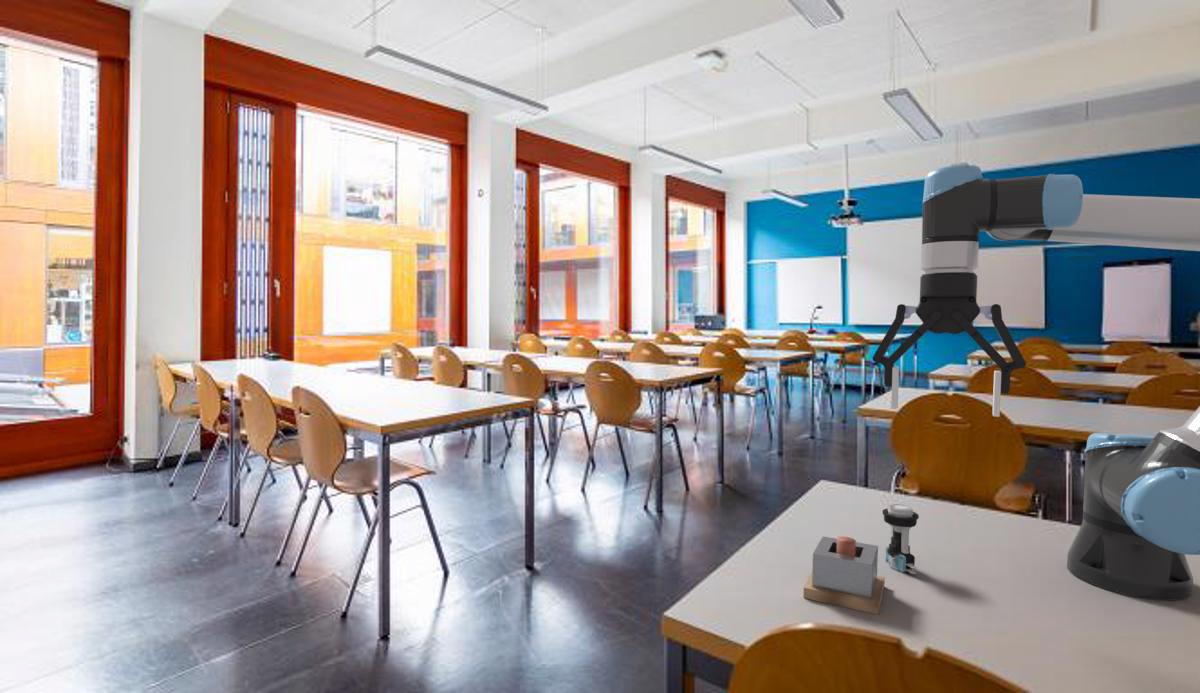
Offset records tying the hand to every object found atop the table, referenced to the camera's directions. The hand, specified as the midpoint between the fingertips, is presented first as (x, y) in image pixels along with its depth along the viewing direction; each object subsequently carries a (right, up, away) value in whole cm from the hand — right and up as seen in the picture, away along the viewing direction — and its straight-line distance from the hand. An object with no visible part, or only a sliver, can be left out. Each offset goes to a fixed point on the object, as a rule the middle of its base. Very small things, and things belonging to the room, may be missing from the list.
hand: (943, 411), depth 95 cm
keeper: (-16, -27, -2) cm, 31 cm away
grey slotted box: (-16, -25, -2) cm, 30 cm away
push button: (-3, -27, +7) cm, 28 cm away
